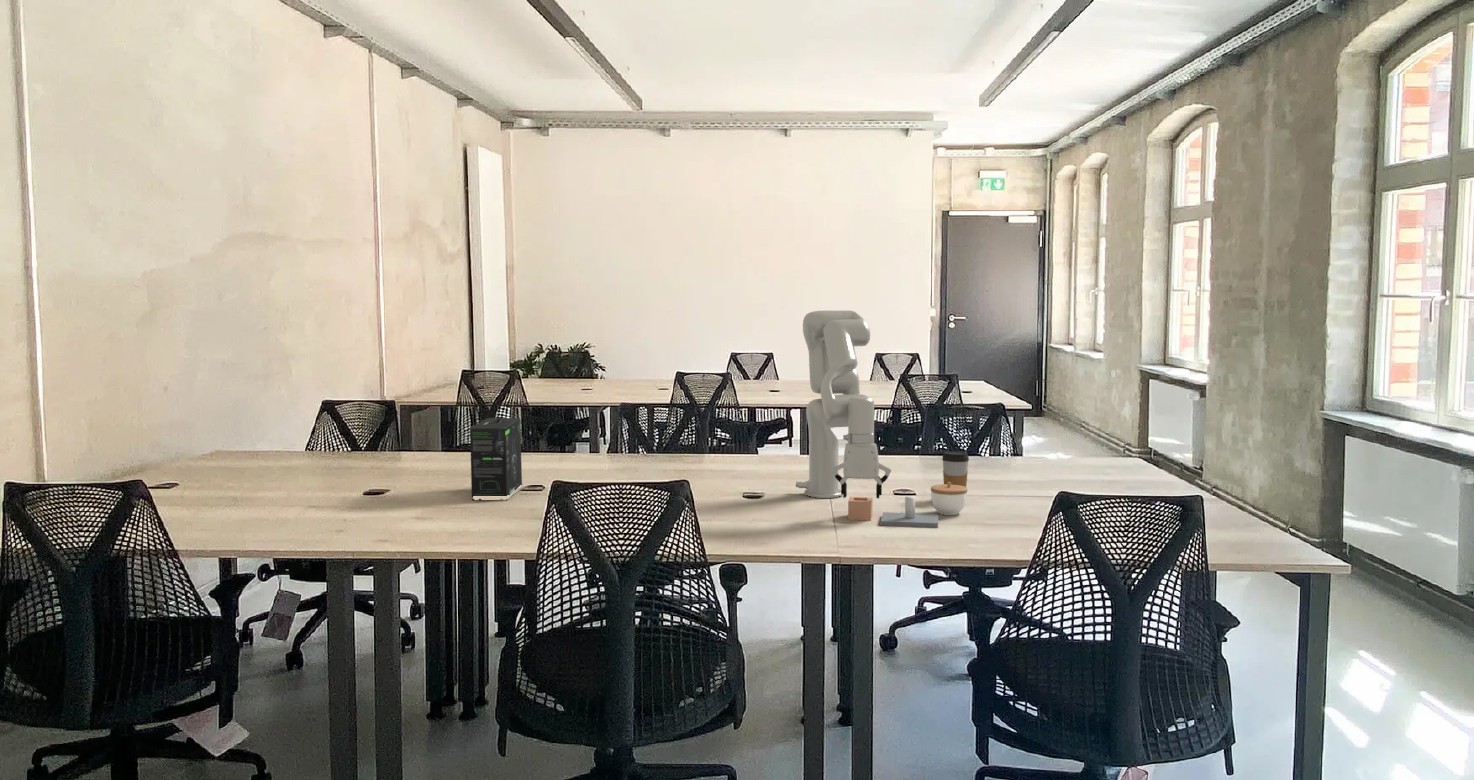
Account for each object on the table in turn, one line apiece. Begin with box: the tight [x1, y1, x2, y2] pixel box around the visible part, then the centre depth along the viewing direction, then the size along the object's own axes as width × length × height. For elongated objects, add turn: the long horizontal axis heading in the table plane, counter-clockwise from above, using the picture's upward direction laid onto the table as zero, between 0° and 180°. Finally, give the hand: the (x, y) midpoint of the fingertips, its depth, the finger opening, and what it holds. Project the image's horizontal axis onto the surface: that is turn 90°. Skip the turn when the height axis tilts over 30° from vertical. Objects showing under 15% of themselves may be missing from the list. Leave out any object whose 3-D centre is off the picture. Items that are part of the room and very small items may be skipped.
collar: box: [847, 496, 874, 521], centre depth 310 cm, size 7×7×6 cm
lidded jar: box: [930, 482, 968, 516], centre depth 316 cm, size 11×11×9 cm
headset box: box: [469, 415, 523, 497], centre depth 347 cm, size 22×12×26 cm, turn 179°
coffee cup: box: [941, 450, 970, 488], centre depth 336 cm, size 8×8×15 cm
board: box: [880, 495, 939, 528], centre depth 305 cm, size 16×12×7 cm
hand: (861, 497), depth 309 cm, fingers open, 9 cm apart
